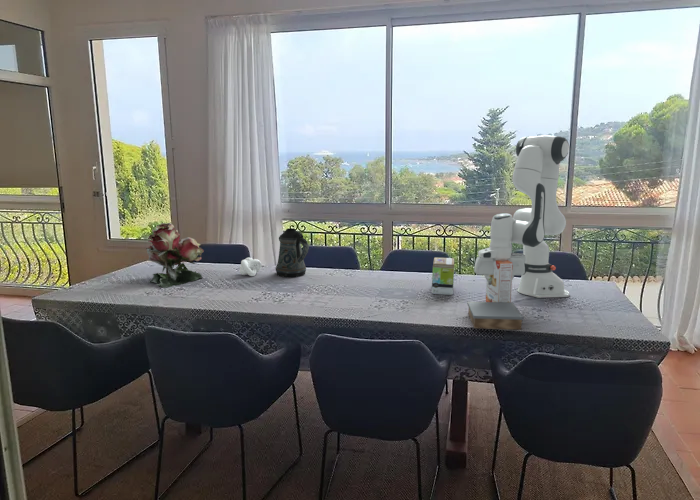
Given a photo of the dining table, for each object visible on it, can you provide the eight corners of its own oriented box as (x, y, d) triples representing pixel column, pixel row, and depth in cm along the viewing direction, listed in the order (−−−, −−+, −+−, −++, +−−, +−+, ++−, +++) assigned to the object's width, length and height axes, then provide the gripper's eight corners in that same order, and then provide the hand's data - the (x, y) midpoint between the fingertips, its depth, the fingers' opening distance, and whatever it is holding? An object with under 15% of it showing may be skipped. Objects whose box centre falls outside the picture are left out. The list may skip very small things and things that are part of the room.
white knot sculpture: (233, 275, 266) (232, 259, 265) (249, 271, 276) (249, 255, 274) (248, 278, 260) (247, 261, 258) (264, 273, 270) (263, 257, 268)
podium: (512, 314, 200) (512, 302, 199) (522, 330, 182) (523, 317, 181) (466, 313, 201) (467, 301, 200) (473, 328, 184) (473, 315, 183)
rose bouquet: (211, 276, 265) (208, 221, 259) (165, 289, 240) (160, 228, 234) (179, 270, 278) (175, 218, 272) (133, 282, 254) (127, 224, 248)
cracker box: (484, 302, 216) (486, 255, 212) (498, 301, 217) (500, 255, 213) (496, 312, 203) (499, 262, 199) (510, 311, 203) (513, 262, 199)
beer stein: (280, 270, 278) (279, 226, 273) (314, 271, 275) (313, 226, 270) (271, 277, 262) (270, 230, 257) (307, 278, 259) (306, 231, 254)
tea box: (453, 295, 227) (454, 264, 224) (431, 294, 229) (432, 263, 226) (453, 286, 242) (454, 257, 239) (432, 285, 244) (433, 256, 241)
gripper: (524, 251, 207) (522, 283, 210) (474, 250, 209) (473, 282, 212) (527, 254, 201) (525, 287, 204) (476, 253, 203) (475, 286, 206)
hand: (498, 284), depth 208 cm, fingers open, 7 cm apart
